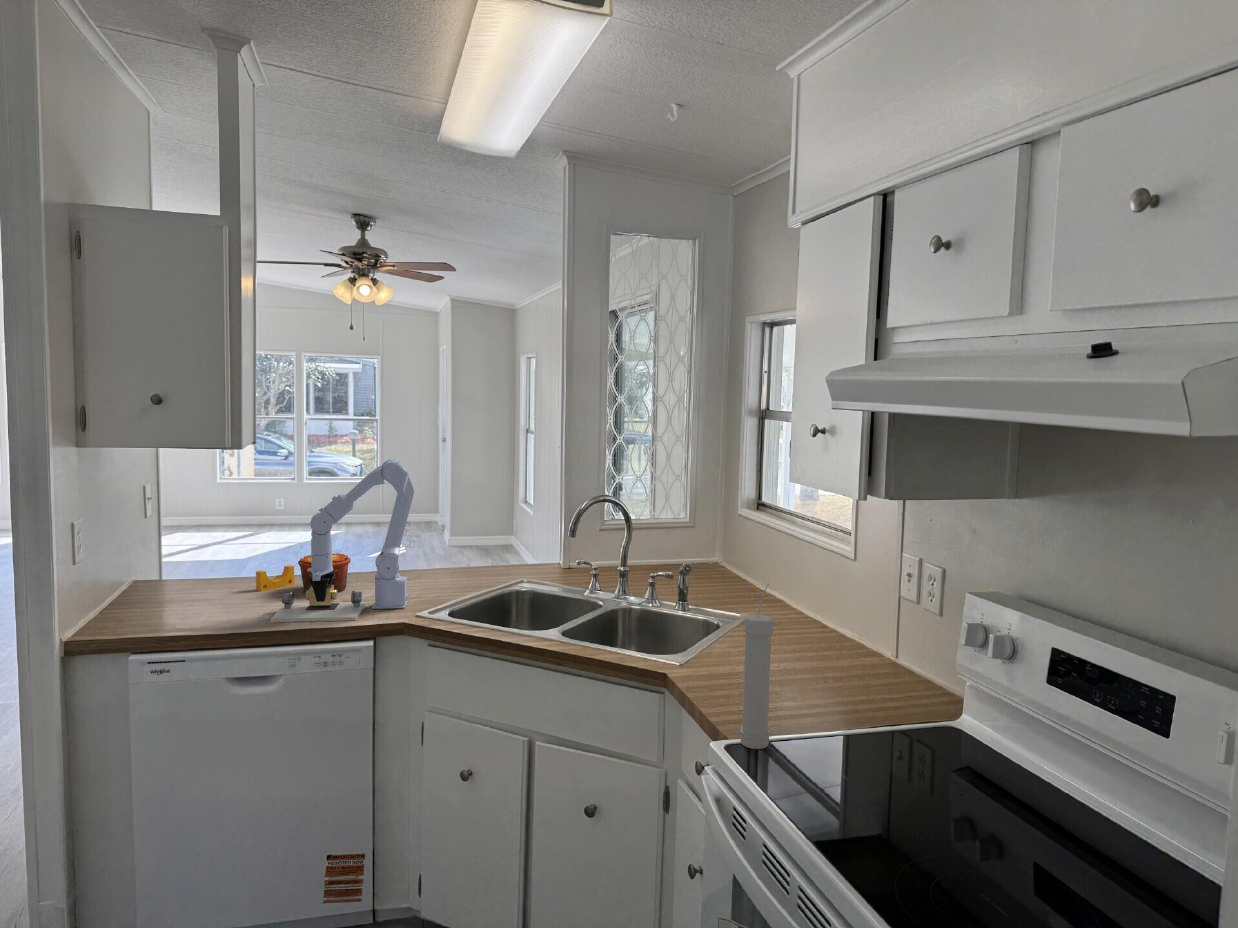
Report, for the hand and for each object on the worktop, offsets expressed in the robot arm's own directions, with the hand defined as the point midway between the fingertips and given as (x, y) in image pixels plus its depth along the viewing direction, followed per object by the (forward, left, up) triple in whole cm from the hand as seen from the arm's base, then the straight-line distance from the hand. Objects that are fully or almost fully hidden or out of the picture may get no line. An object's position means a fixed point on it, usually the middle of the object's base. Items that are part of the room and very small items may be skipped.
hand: (322, 599), depth 232 cm
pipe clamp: (+22, -30, -4) cm, 38 cm away
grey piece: (-101, +99, -4) cm, 141 cm away
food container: (+5, -25, -4) cm, 26 cm away
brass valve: (0, 0, -1) cm, 1 cm away
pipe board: (0, +3, -3) cm, 5 cm away
